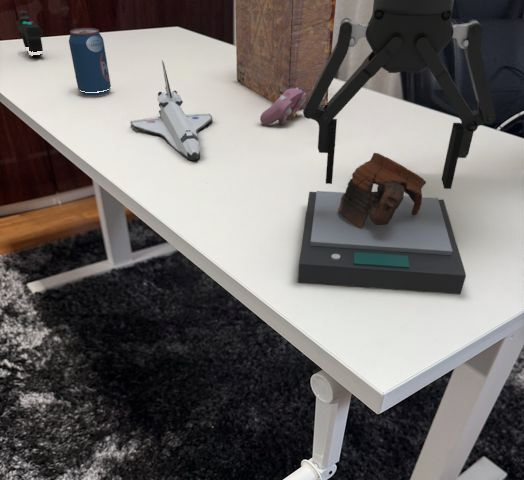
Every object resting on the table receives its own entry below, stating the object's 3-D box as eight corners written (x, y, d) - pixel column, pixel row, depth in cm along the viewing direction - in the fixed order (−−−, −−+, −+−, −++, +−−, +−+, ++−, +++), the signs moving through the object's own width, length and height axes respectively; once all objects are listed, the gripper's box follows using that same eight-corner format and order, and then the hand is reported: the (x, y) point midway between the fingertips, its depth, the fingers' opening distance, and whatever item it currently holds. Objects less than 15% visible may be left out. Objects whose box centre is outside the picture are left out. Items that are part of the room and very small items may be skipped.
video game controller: (275, 136, 102) (291, 104, 97) (256, 121, 102) (271, 88, 97) (298, 122, 109) (315, 91, 103) (281, 108, 109) (296, 76, 104)
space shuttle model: (148, 168, 86) (140, 101, 80) (127, 120, 104) (119, 62, 98) (241, 157, 90) (240, 93, 84) (205, 112, 108) (202, 57, 102)
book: (236, 81, 126) (232, -84, 107) (271, 76, 129) (274, -84, 110) (288, 111, 109) (295, -79, 90) (327, 105, 112) (342, -79, 93)
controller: (39, 51, 148) (29, 9, 142) (50, 61, 140) (40, 16, 134) (23, 53, 146) (12, 10, 140) (33, 63, 138) (22, 18, 132)
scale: (439, 216, 74) (444, 194, 72) (460, 294, 60) (467, 270, 58) (308, 208, 76) (309, 187, 74) (297, 282, 61) (299, 258, 59)
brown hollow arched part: (327, 203, 71) (360, 143, 68) (388, 235, 73) (422, 178, 70) (342, 223, 60) (382, 153, 57) (413, 260, 62) (455, 194, 59)
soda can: (115, 95, 117) (105, 32, 109) (83, 99, 114) (70, 35, 107) (107, 87, 121) (97, 26, 114) (76, 91, 119) (63, 28, 111)
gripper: (548, -43, 52) (490, 173, 65) (288, -44, 54) (284, 165, 68) (573, -35, 46) (503, 200, 60) (280, -36, 48) (278, 190, 62)
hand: (386, 181), depth 64 cm, fingers open, 13 cm apart
